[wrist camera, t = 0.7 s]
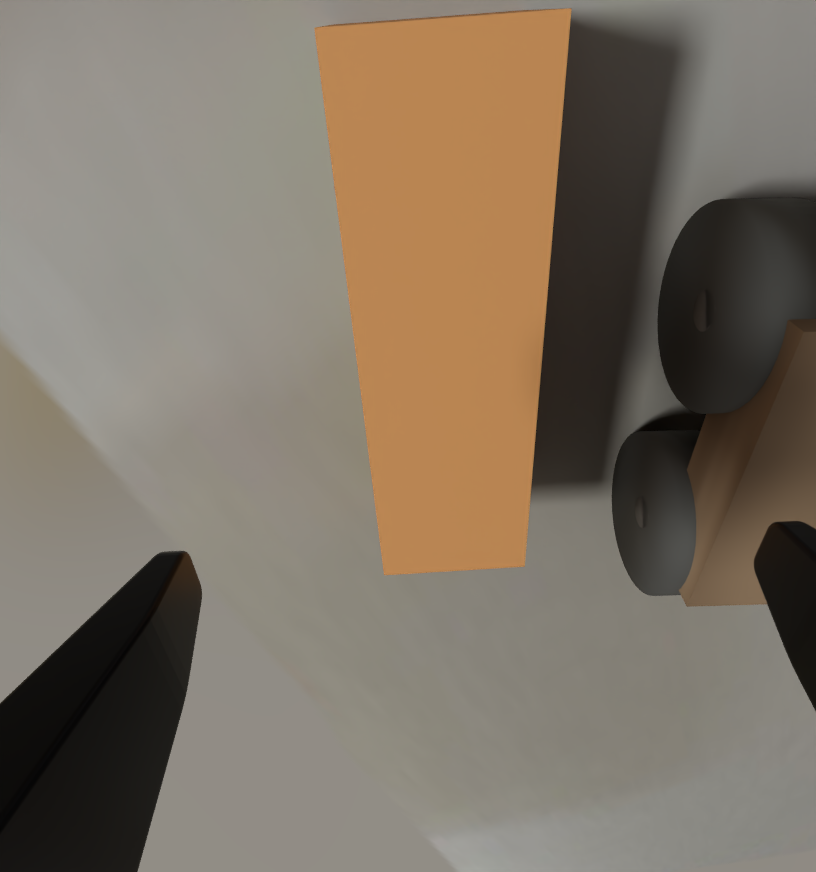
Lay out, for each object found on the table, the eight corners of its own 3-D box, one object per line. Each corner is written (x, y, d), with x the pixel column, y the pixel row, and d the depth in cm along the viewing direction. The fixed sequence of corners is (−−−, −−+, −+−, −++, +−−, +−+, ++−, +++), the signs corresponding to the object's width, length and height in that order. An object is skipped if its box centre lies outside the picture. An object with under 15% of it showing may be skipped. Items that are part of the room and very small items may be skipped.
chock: (523, 10, 15) (571, 8, 11) (502, 476, 25) (524, 566, 21) (333, 24, 15) (314, 28, 11) (385, 483, 25) (384, 575, 21)
